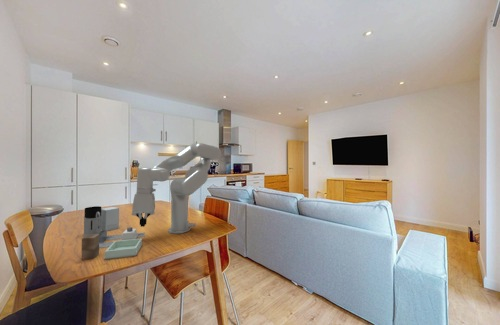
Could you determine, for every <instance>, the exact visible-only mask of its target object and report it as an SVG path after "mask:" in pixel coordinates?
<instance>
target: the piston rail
mask: <svg viewBox="0 0 500 325" xmlns="http://www.w3.org/2000/svg"><path fill="white" fill-rule="evenodd" d="M145 236H146V232H137V238H143V237H145ZM111 240H112V241H111ZM113 240H122V234H114V235H113V234H111V235H108V231H107V230H102V231H101V232H100V233H99V249H102V248H109V246H110V245H111V244H112V243H113V242H114V241H113ZM105 241H107V242H105Z"/></svg>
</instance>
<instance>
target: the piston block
mask: <svg viewBox="0 0 500 325" xmlns="http://www.w3.org/2000/svg"><path fill="white" fill-rule="evenodd" d="M137 233H138V230H137V228H133V227H131V226H129V227H127V228H126V229H125V230H124V231H123V232H122V234H121V235H122V239H121V240H131V239H138V237H137Z"/></svg>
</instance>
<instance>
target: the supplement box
mask: <svg viewBox="0 0 500 325" xmlns="http://www.w3.org/2000/svg"><path fill="white" fill-rule="evenodd" d="M101 214H102V229H101V230H107V232H109V231H113V230H117V229H119V228H120V208H119V207H117V206H116V207H115V206H110V207H105V208H104V207H103V208H101Z"/></svg>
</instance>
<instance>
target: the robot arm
mask: <svg viewBox="0 0 500 325" xmlns="http://www.w3.org/2000/svg"><path fill="white" fill-rule="evenodd" d="M221 156H222V150H221V149H220V148H219V147H218V146H214V145H210V144H206V143H204V142H203V143H202V142H196V143H191V144H189V145H188V146H186V147H185V148H183V149H182V150H180V151H179V152H177V153H176V154H174V155H172V156H170V157H168V158H166V159H165V160H162V161H161V162H159V163H158V164H156V165H155V166H153V167H152V168H151V167H138V169H137V173H136V174H137V176H136V192H135V194H134V197H133V202H132V209H131V210H132V212H131V216H135V217H137V218H138V219H139V226H140V227H141V228H142V227H143V228H144V227H145V226H146V225H147V220H148V219H147V218H149V217H150V216H153V215H155V213H156V212H155V209H156V198H155V197H156V196H155V193H154V192H156V188H154V182H166V181H168V180H169V178H170V175H171V173H170V172H171V171H173V170H176V169H180V168H183V167H185V166H186V165H188V164H190V162H192V161H193V160H194V159H196V158H197V157H198V158H199V161H198V163H195V165H194V166H192V167H191V168H189V169H188V170H187V171H186V172H185V176H184V178H183V177H177V178H174V179H173V180H172V181H171V182H170V186H169V190H170V196H171V197H170V198H171V199H170V200H171V201H170V202H171V208H170V209H171V212H170V213H171V216H170V219H171V220H170V227H169V228H168V230H167V231H168V233H169V234H175V235H177V234H185V233H187V232H189V231H190V230H191V227H192V228H194V227H196V223H194V222H189V198H188V196H190V195H193V194H194V193H196V191H198V190H199V189H200V188H201V187H202V186H203V185H204V184H206V182H207V181H208V179H209V171H210V169H211V165H212V164H211V161H215V160H220V158H221ZM143 214H144V216H143Z"/></svg>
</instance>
